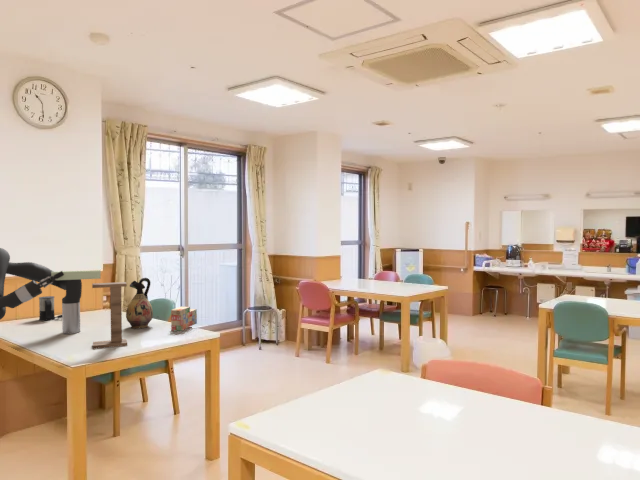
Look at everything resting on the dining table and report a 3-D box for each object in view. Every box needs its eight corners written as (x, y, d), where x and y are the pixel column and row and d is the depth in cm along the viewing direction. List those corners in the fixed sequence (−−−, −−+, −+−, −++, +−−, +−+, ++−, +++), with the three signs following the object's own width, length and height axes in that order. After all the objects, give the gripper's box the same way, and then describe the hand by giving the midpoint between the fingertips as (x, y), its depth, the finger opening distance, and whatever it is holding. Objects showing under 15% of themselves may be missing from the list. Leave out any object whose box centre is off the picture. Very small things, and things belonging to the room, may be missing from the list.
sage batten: (51, 279, 246) (51, 271, 246) (100, 277, 255) (100, 270, 255) (51, 280, 243) (51, 272, 243) (100, 278, 253) (100, 270, 252)
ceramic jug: (131, 330, 291) (131, 279, 290) (122, 326, 303) (121, 277, 302) (159, 326, 302) (159, 277, 301) (149, 323, 314) (149, 275, 313)
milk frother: (36, 319, 324) (35, 297, 324) (60, 316, 337) (60, 294, 336) (47, 322, 316) (46, 299, 315) (71, 318, 329) (71, 296, 328)
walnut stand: (93, 344, 258) (92, 283, 257) (126, 341, 264) (125, 281, 263) (93, 348, 249) (92, 285, 248) (127, 345, 256) (126, 283, 255)
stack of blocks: (187, 323, 314) (187, 303, 313) (197, 323, 312) (196, 304, 312) (171, 330, 293) (170, 309, 292) (180, 330, 292) (180, 310, 291)
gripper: (22, 286, 233) (58, 267, 239) (25, 283, 246) (59, 265, 252) (31, 300, 235) (67, 280, 241) (34, 296, 248) (67, 277, 254)
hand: (62, 272), depth 247 cm, fingers closed on sage batten, 3 cm apart
